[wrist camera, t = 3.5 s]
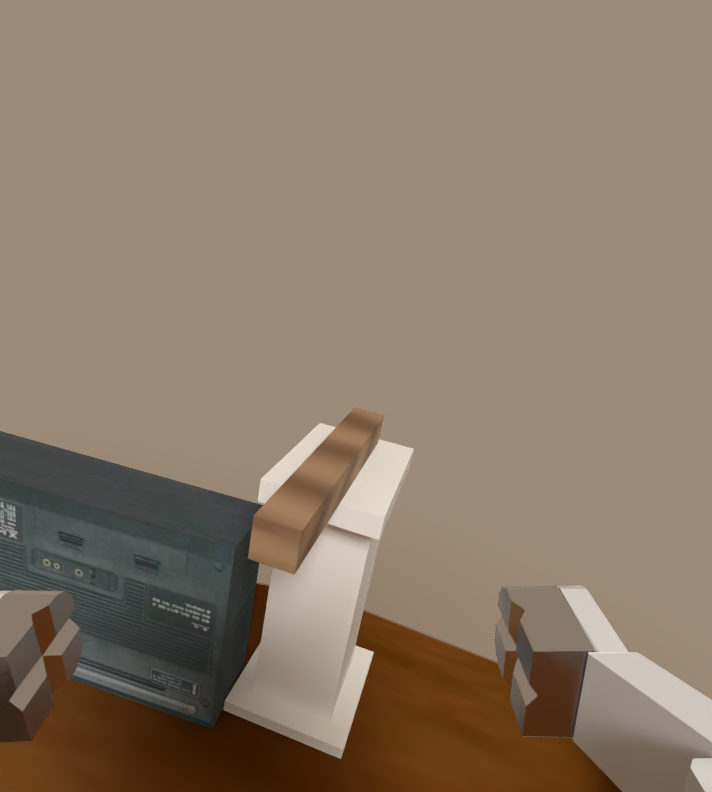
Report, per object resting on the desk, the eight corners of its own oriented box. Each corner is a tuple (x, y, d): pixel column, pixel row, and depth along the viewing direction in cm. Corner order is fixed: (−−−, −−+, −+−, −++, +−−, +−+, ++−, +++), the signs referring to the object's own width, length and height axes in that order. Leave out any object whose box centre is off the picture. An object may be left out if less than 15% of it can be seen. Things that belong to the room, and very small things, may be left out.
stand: (337, 769, 45) (397, 521, 36) (218, 719, 47) (249, 475, 39) (373, 653, 58) (423, 451, 49) (278, 618, 60) (311, 420, 52)
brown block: (294, 574, 29) (302, 531, 28) (247, 558, 30) (253, 515, 29) (378, 443, 49) (384, 415, 48) (349, 435, 50) (354, 407, 49)
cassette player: (243, 670, 53) (267, 506, 46) (212, 729, 46) (234, 548, 40) (6, 590, 57) (-2, 430, 51) (-54, 635, 50) (-71, 457, 44)
